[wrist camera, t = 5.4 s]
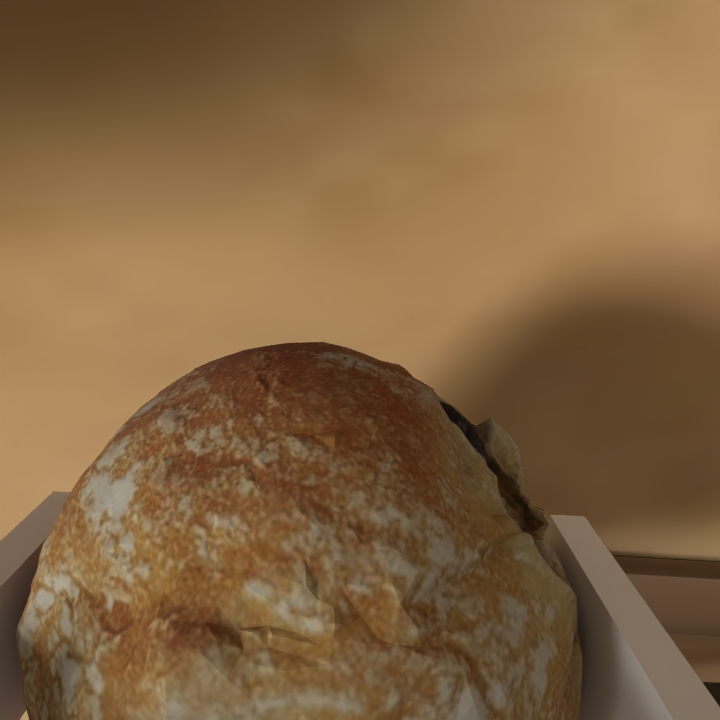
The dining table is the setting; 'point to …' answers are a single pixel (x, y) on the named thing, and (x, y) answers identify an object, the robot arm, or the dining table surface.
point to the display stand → (683, 606)
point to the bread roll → (301, 559)
